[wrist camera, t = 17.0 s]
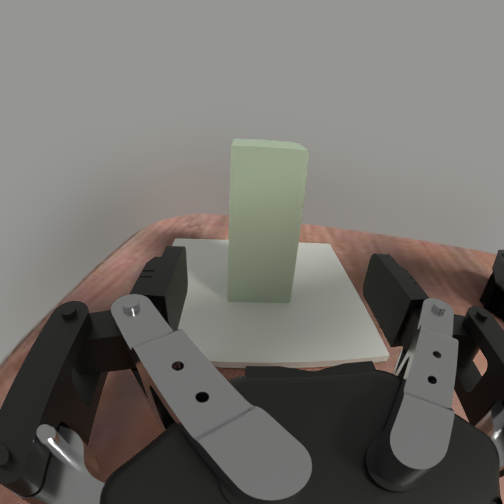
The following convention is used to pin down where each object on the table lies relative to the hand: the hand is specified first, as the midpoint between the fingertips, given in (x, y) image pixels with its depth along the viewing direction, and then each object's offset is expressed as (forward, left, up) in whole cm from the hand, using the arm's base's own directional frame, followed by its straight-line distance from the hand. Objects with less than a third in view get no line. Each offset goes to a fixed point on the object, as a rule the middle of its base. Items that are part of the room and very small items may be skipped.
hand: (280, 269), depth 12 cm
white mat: (0, -11, -9) cm, 14 cm away
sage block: (0, -11, -8) cm, 14 cm away
